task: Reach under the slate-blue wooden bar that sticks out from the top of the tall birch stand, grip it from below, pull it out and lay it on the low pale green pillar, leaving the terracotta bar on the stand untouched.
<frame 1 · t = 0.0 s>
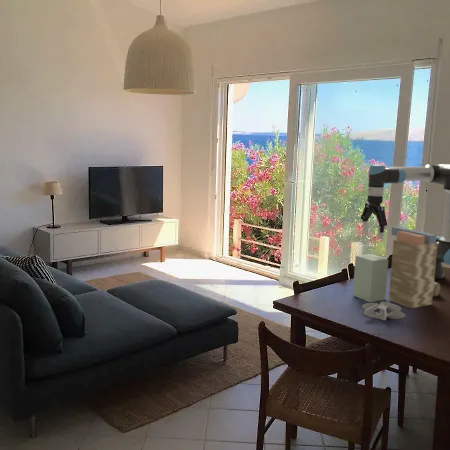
hand: (372, 236, 271), 28 cm above the table, tool pointing down, fingers open, 13 cm apart
pale green pillar: (368, 297, 261), on the table
terracotta bar: (410, 242, 248), point 30 cm above the table, touching birch stand
sculpture: (382, 318, 233), on the table
slate bar: (412, 238, 256), point 30 cm above the table, touching birch stand
birch stand: (410, 302, 255), on the table
ceramic mug: (429, 294, 269), on the table
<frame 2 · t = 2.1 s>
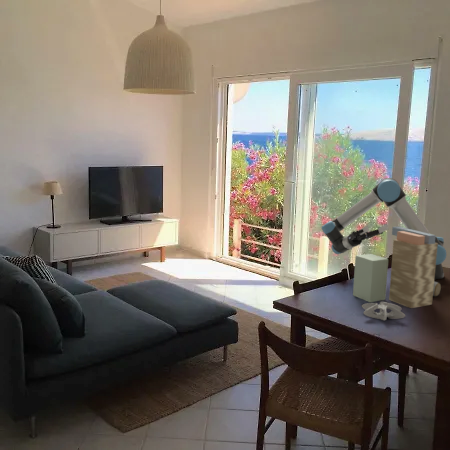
hand: (377, 227, 276), 32 cm above the table, tool pointing upward, fingers open, 13 cm apart
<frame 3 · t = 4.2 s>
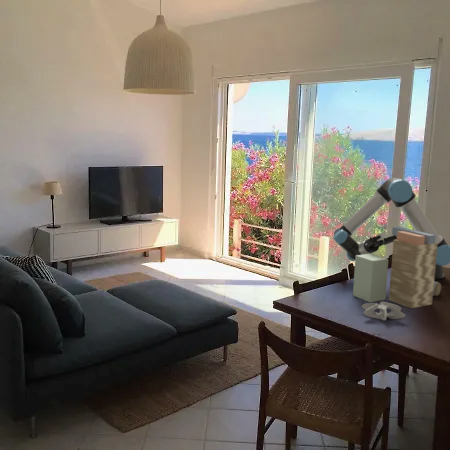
hand: (395, 233, 264), 31 cm above the table, tool pointing upward, fingers open, 13 cm apart
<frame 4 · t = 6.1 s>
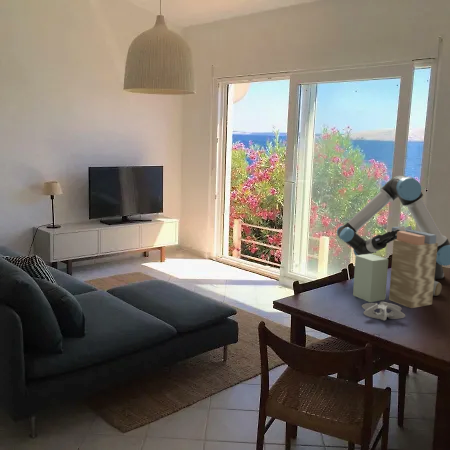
hand: (408, 228, 258), 35 cm above the table, tool pointing upward, fingers closed on slate bar, 4 cm apart
slate bar: (412, 238, 256), point 30 cm above the table, touching birch stand, gripper
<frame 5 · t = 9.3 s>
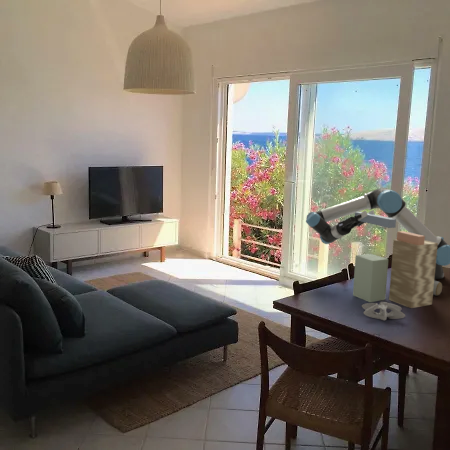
hand: (370, 213, 259), 42 cm above the table, tool pointing upward, fingers closed on slate bar, 4 cm apart
slate bar: (374, 223, 257), point 37 cm above the table, touching gripper
when the fingers open (27 cm above the table, at t = 12.4 s): slate bar drops 2 cm, resting on pale green pillar.
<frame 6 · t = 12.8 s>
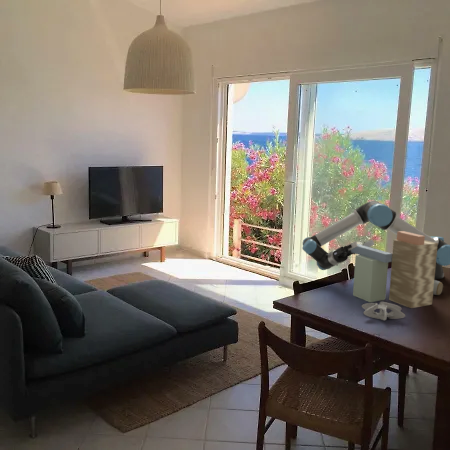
hand: (364, 242, 261), 27 cm above the table, tool pointing upward, fingers open, 10 cm apart
slate bar: (370, 256, 259), point 20 cm above the table, touching pale green pillar
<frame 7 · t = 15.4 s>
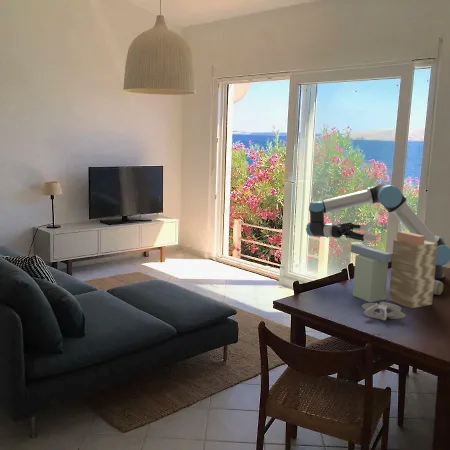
hand: (371, 232, 275), 29 cm above the table, tool horizontal, fingers open, 13 cm apart
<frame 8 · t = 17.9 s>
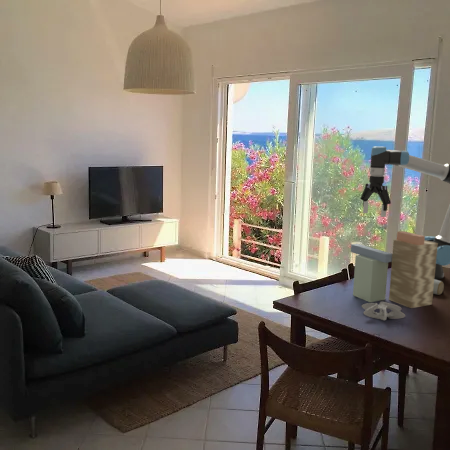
hand: (374, 214, 285), 37 cm above the table, tool pointing down, fingers open, 13 cm apart
at the end: slate bar inside the target area on the pale green pillar (1.0 cm from its centre), point 20.5 cm above the pale green pillar's base; the gripper is holding nothing; terracotta bar moved 0.0 cm from its start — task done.
